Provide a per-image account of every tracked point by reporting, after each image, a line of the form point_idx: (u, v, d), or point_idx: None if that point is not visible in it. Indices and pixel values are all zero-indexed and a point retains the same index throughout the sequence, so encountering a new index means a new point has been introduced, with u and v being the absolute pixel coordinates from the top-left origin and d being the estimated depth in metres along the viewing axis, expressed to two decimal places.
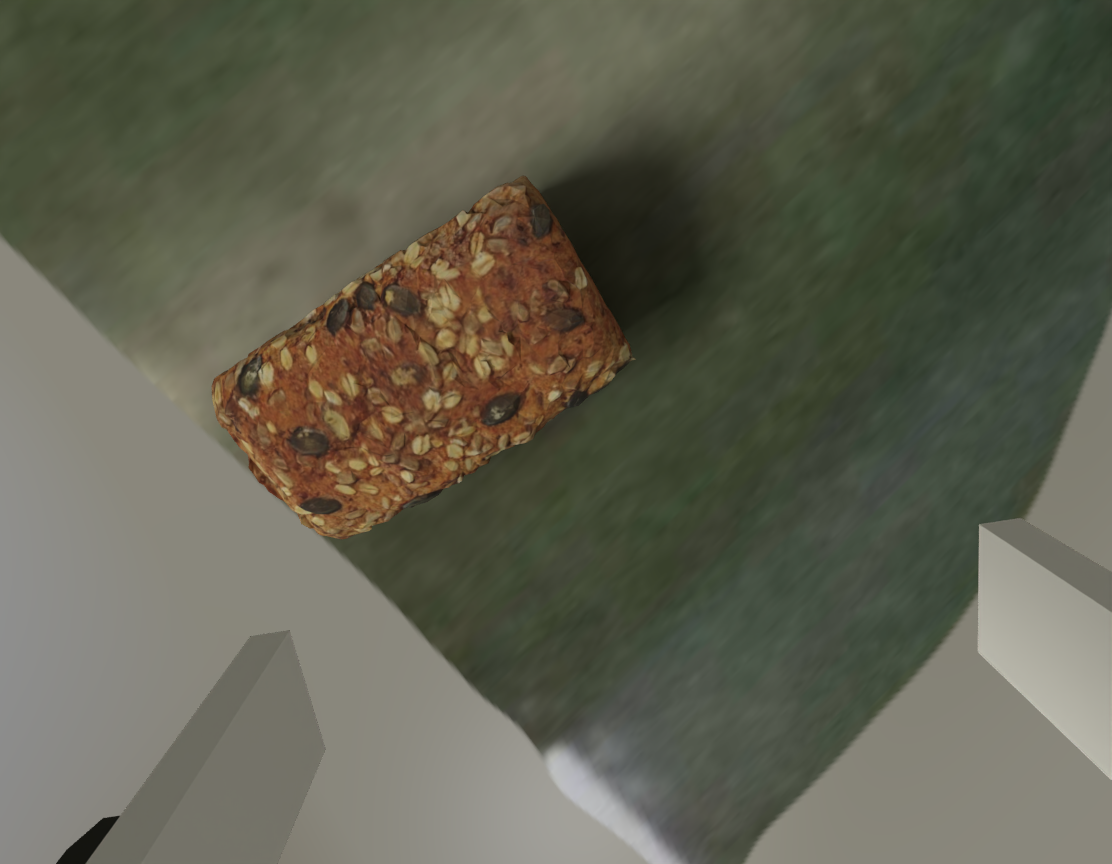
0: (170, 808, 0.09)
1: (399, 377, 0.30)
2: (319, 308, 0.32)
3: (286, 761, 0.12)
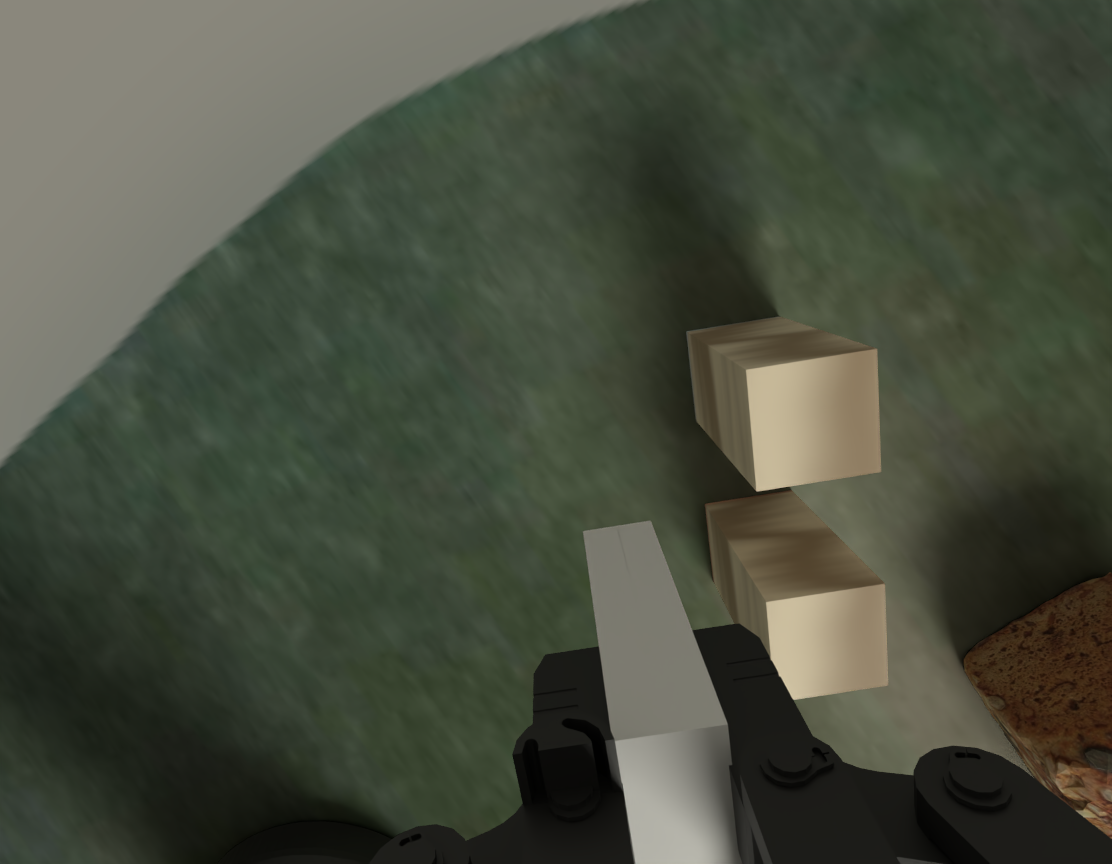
0: (637, 632, 0.11)
1: None
2: None
3: None
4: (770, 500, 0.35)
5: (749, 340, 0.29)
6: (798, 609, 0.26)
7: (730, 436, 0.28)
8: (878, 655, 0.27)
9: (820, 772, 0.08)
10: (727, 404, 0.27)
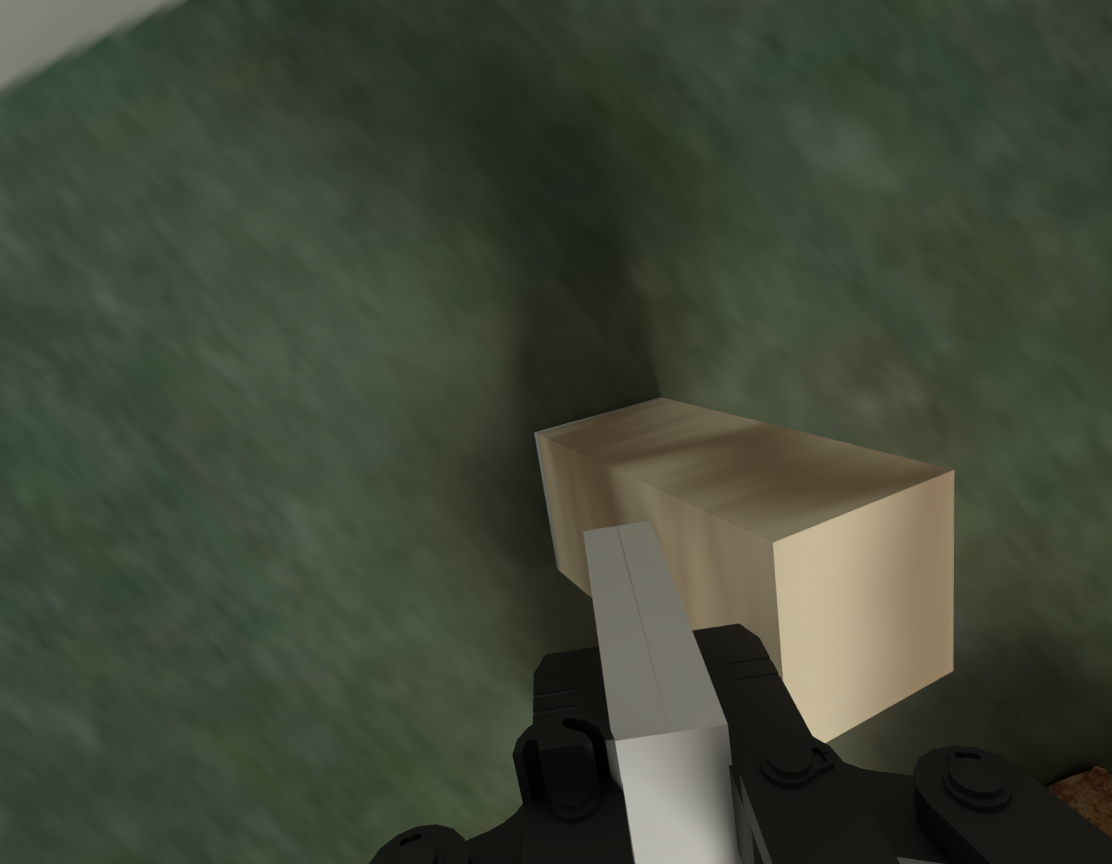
0: (638, 632, 0.11)
1: None
2: None
3: None
4: None
5: (675, 452, 0.17)
6: None
7: None
8: None
9: (820, 772, 0.08)
10: (678, 580, 0.15)
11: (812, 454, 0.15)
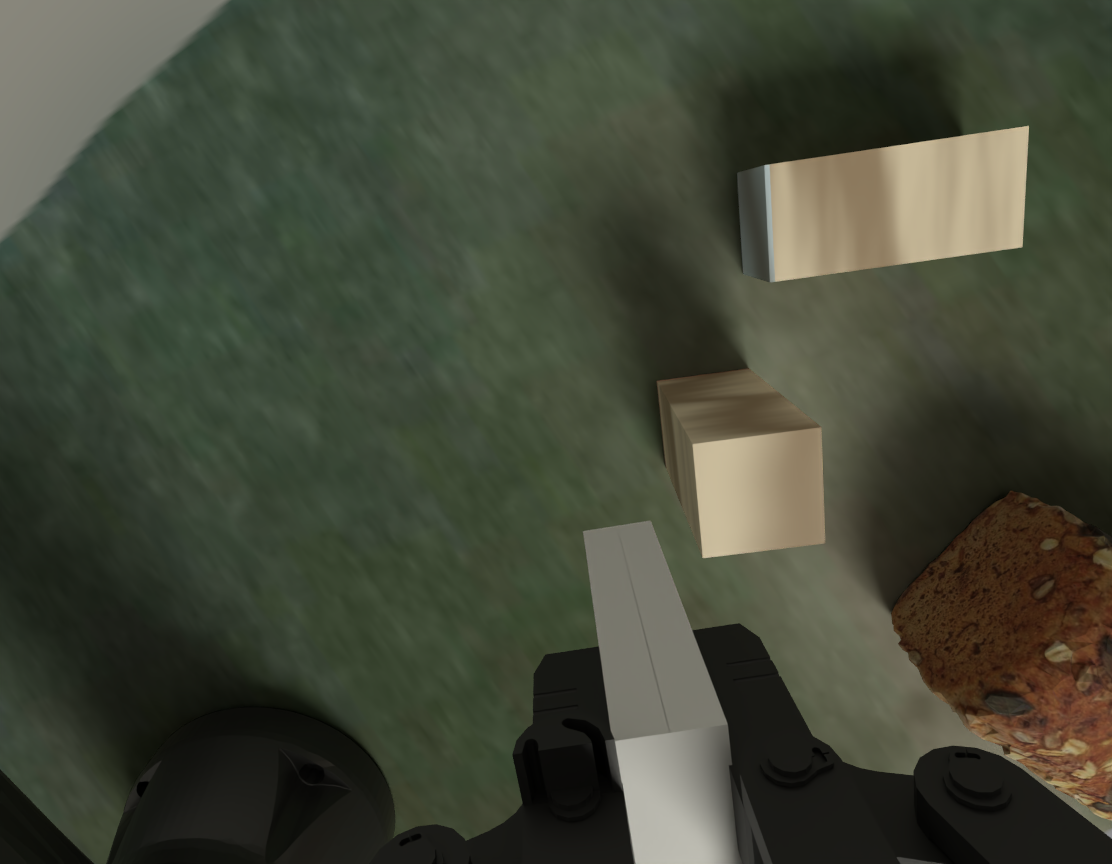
0: (638, 632, 0.11)
1: None
2: None
3: None
4: (724, 376, 0.33)
5: None
6: (727, 453, 0.25)
7: (943, 227, 0.27)
8: (815, 508, 0.25)
9: (820, 772, 0.08)
10: (945, 192, 0.27)
11: None
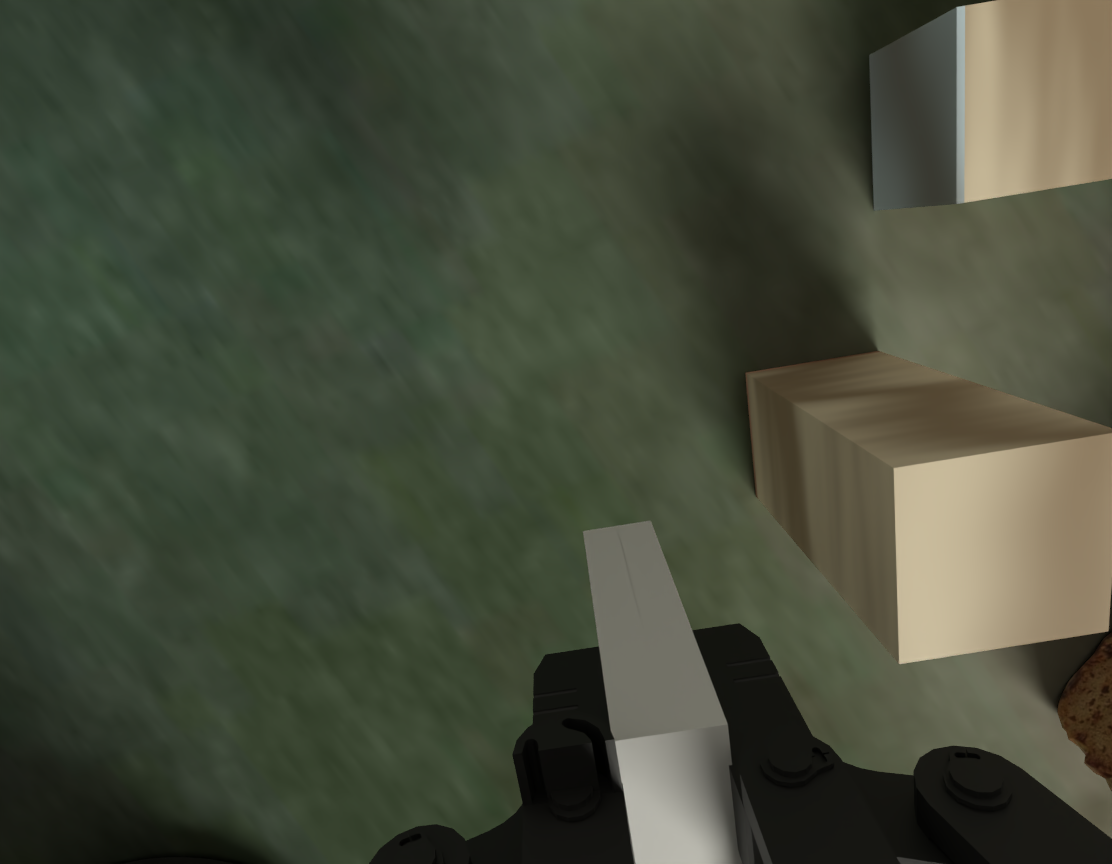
0: (637, 632, 0.11)
1: None
2: None
3: None
4: (849, 362, 0.22)
5: None
6: (954, 482, 0.14)
7: None
8: (1096, 573, 0.14)
9: (820, 772, 0.08)
10: None
11: None
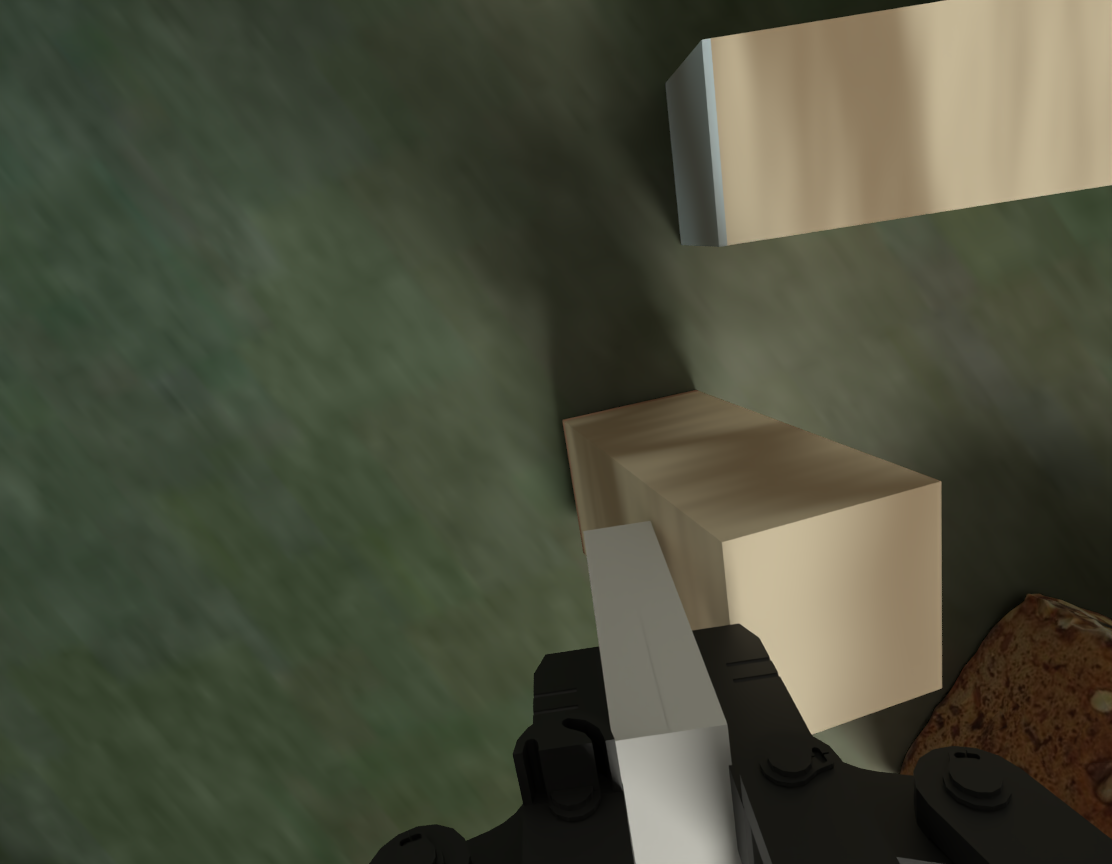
0: (638, 632, 0.11)
1: None
2: None
3: None
4: (668, 403, 0.21)
5: None
6: (786, 551, 0.12)
7: (1007, 148, 0.16)
8: (928, 630, 0.14)
9: (819, 772, 0.08)
10: (1010, 86, 0.16)
11: None
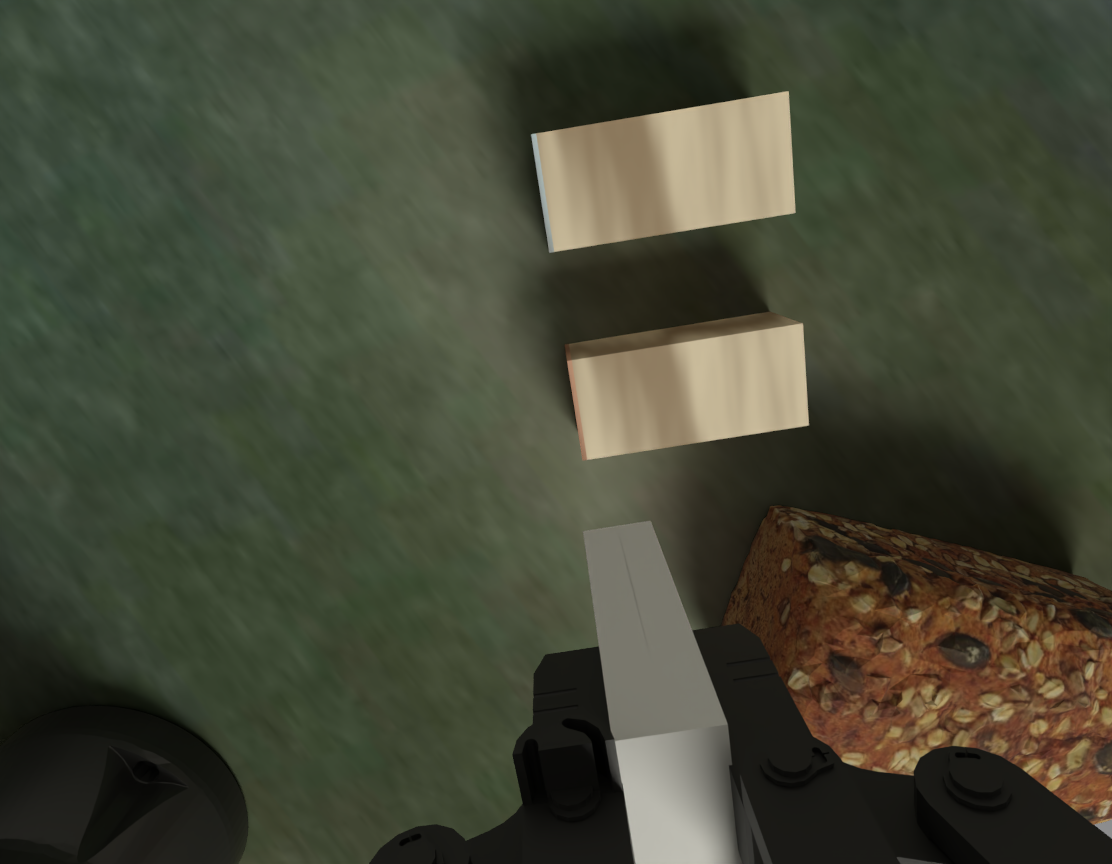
0: (638, 632, 0.11)
1: (1000, 747, 0.29)
2: None
3: None
4: (583, 346, 0.32)
5: None
6: None
7: (715, 194, 0.28)
8: None
9: (820, 772, 0.08)
10: (713, 158, 0.27)
11: None
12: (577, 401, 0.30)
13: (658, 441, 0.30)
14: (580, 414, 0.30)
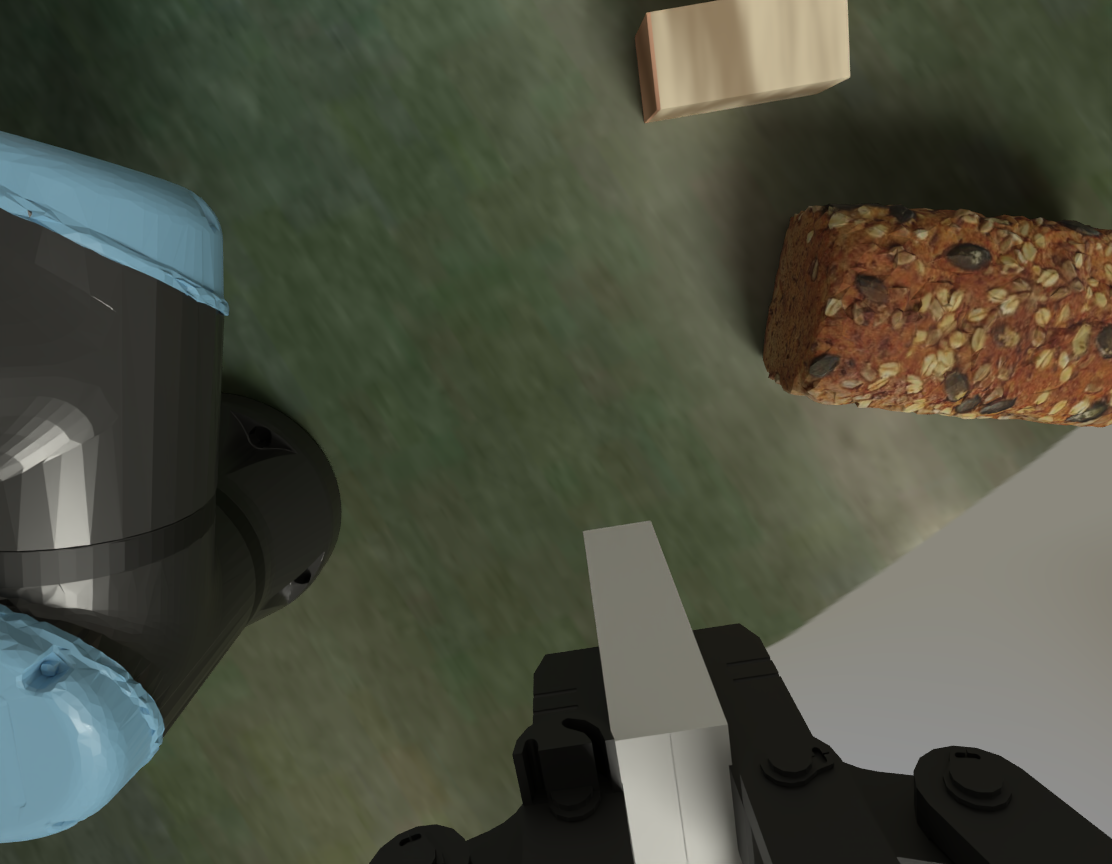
0: (638, 632, 0.11)
1: (1012, 339, 0.34)
2: (995, 417, 0.38)
3: None
4: None
5: None
6: None
7: None
8: None
9: (820, 772, 0.08)
10: None
11: None
12: (654, 52, 0.35)
13: (722, 92, 0.36)
14: (656, 64, 0.35)
